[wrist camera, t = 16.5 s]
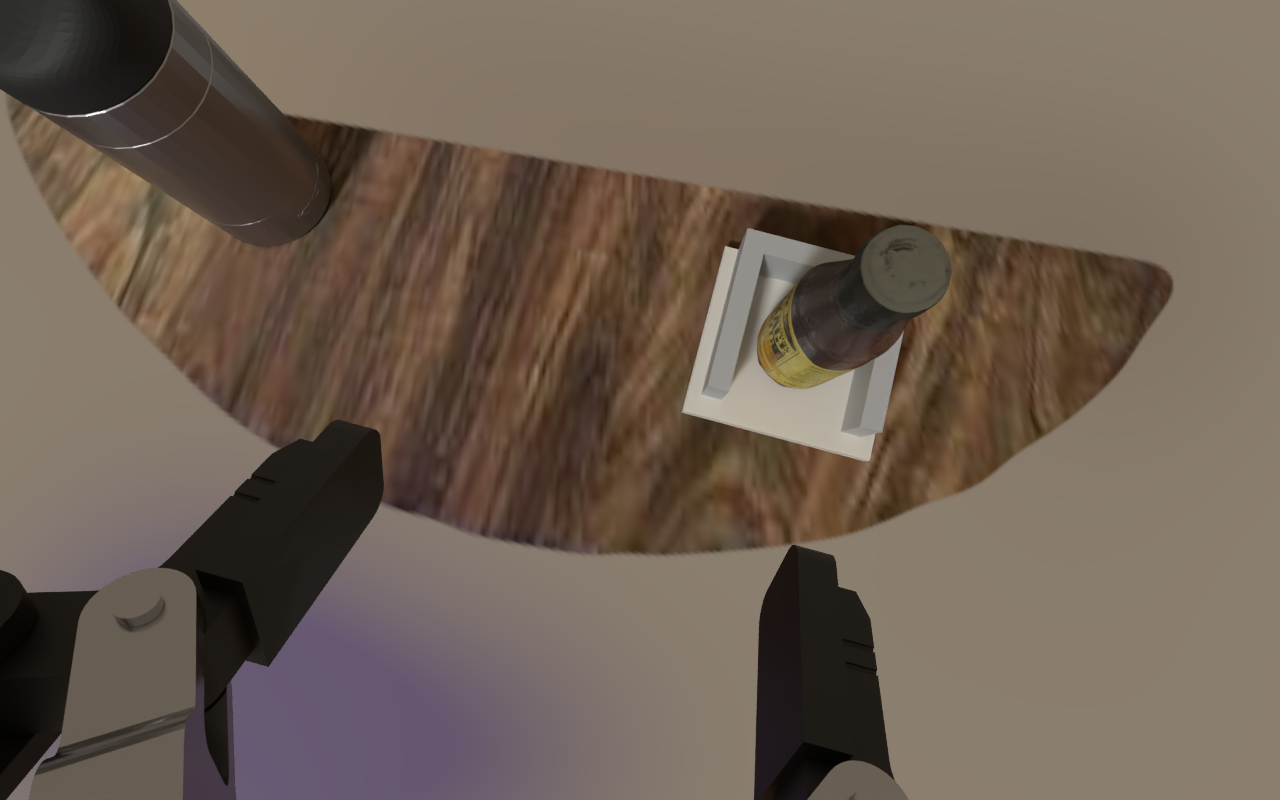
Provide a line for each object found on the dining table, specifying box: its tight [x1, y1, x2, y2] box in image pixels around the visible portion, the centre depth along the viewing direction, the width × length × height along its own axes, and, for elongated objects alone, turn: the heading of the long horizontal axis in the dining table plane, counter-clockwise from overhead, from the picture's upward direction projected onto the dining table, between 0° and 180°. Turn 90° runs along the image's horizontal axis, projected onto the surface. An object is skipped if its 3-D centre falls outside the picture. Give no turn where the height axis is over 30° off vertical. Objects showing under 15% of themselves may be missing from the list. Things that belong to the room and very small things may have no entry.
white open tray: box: [682, 228, 904, 461], centre depth 46 cm, size 14×13×5 cm
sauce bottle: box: [757, 225, 952, 389], centre depth 37 cm, size 7×6×20 cm
